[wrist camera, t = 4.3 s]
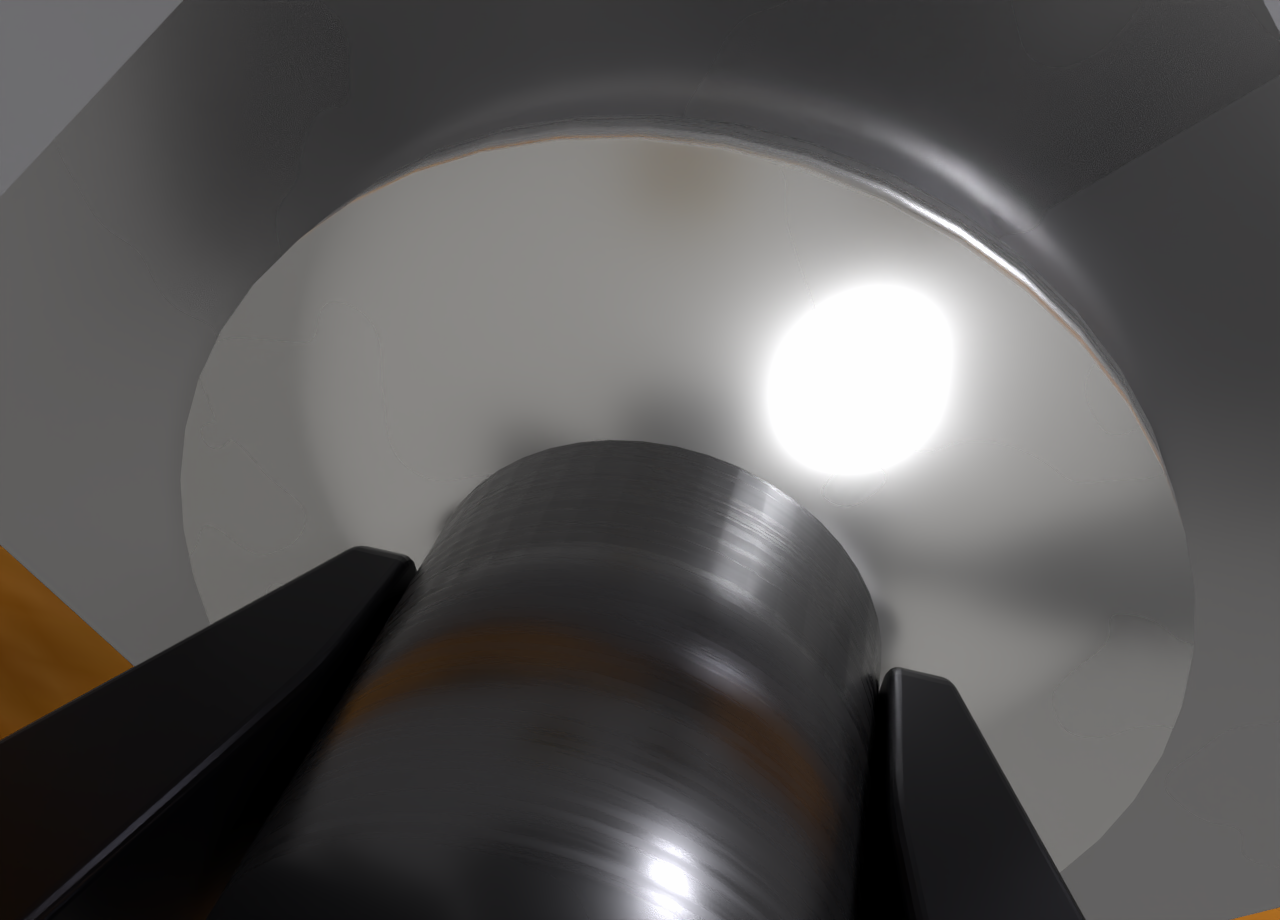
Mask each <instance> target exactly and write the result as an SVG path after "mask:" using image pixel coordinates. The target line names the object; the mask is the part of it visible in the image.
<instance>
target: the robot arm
mask: <svg viewBox="0 0 1280 920" xmlns="http://www.w3.org/2000/svg"><path fill="white" fill-rule="evenodd" d="M416 572H417V570H416V566H415V563H414V561H413V560H412V559H411V558H410V557H409V556H407V555H404V554H400V553H395V552H391V551H387V550H382V549H378V548H373V547H369V546H355V547H352V548H350V549H348V550H346V551H344V552H342V553H340V554H338V555H337V556H335V557H333V558H331V559H329V560H327V561H326V562H324V563H322V564H320V565H318V566H316V567H315V568H313V569H311V570H309V571H307V572H306V573H304V574H302V575H300V576H298V577H296V578H295V579H293V580H291V581H289V582H287V583H286V584H284V585H282V586H280V587H278V588H276V589H275V590H273V591H271V592H269V593H267V594H265V595H264V596H262V597H260V598H258V599H256V600H255V601H253V602H251V603H249V604H247V605H245V606H244V607H242V608H240V609H238V610H236V611H235V612H233V613H231V614H229V615H227V616H225V617H224V618H222V619H220V620H218V621H216V622H214V623H213V624H211V625H209V626H207V627H205V628H204V629H202V630H200V631H198V632H196V633H194V634H193V635H191V636H189V637H187V638H185V639H184V640H182V641H180V642H178V643H176V644H174V645H173V646H171V647H169V648H167V649H165V650H163V651H162V652H160V653H158V654H156V655H154V656H153V657H151V658H149V659H147V660H145V661H143V662H142V663H140V664H138V665H136V666H134V667H133V668H131V669H129V670H127V671H125V672H123V673H122V674H120V675H118V676H116V677H114V678H112V679H111V680H109V681H107V682H105V683H103V684H102V685H100V686H98V687H96V688H94V689H92V690H91V691H89V692H87V693H85V694H83V695H82V696H80V697H78V698H76V699H74V700H72V701H71V702H69V703H67V704H65V705H63V706H61V707H60V708H58V709H56V710H54V711H52V712H51V713H49V714H47V715H45V716H43V717H41V718H40V719H38V720H36V721H34V722H32V723H31V724H29V725H27V726H25V727H23V728H21V729H20V730H18V731H16V732H14V733H12V734H10V735H9V736H7V737H5V738H3V739H1V740H0V920H206V919H207V917H208V915H209V913H210V912H211V910H212V908H213V907H214V905H215V903H216V902H217V900H218V898H219V897H220V895H221V893H222V892H223V890H224V889H225V887H226V885H227V884H228V882H229V880H230V879H231V877H232V875H233V874H234V872H235V870H236V869H237V867H238V865H239V864H240V862H241V861H242V859H243V857H244V856H245V854H246V852H247V851H248V849H249V847H250V846H251V844H252V842H253V841H254V839H255V837H256V836H257V834H258V833H259V831H260V829H261V828H262V826H263V824H264V823H265V821H266V819H267V818H268V816H269V814H270V813H271V811H272V809H273V808H274V806H275V805H276V803H277V801H278V800H279V798H280V796H281V795H282V793H283V791H284V790H285V788H286V786H287V785H288V783H289V781H290V780H291V778H292V777H293V775H294V773H295V772H296V770H297V768H298V767H299V765H300V763H301V762H302V760H303V758H304V757H305V755H306V753H307V752H308V750H309V749H310V747H311V745H312V744H313V742H314V740H315V739H316V737H317V735H318V734H319V732H320V730H321V729H322V727H323V725H324V724H325V722H326V721H327V719H328V717H329V716H330V714H331V712H332V711H333V709H334V707H335V706H336V704H337V702H338V701H339V699H340V697H341V696H342V694H343V693H344V691H345V689H346V688H347V686H348V684H349V683H350V681H351V679H352V678H353V676H354V674H355V673H356V671H357V669H358V668H359V666H360V665H361V663H362V661H363V660H364V658H365V656H366V655H367V653H368V651H369V650H370V648H371V646H372V645H373V643H374V641H375V640H376V638H377V637H378V635H379V633H380V632H381V630H382V628H383V627H384V625H385V623H386V622H387V620H388V618H389V617H390V615H391V613H392V612H393V610H394V609H395V607H396V605H397V604H398V602H399V600H400V599H401V597H402V595H403V594H404V592H405V590H406V589H407V587H408V585H409V584H410V582H411V581H412V579H413V577H414V576H415V574H416ZM862 920H1086V919H1085V917H1084V915H1083V914H1082V912H1081V910H1080V908H1079V906H1078V905H1077V903H1076V901H1075V899H1074V898H1073V896H1072V894H1071V892H1070V890H1069V889H1068V887H1067V885H1066V883H1065V881H1064V880H1063V878H1062V876H1061V874H1060V872H1059V871H1058V869H1057V867H1056V865H1055V864H1054V862H1053V860H1052V858H1051V856H1050V855H1049V853H1048V851H1047V849H1046V847H1045V846H1044V844H1043V842H1042V840H1041V838H1040V837H1039V835H1038V833H1037V831H1036V830H1035V828H1034V826H1033V824H1032V822H1031V821H1030V819H1029V817H1028V815H1027V813H1026V812H1025V810H1024V808H1023V806H1022V805H1021V803H1020V801H1019V799H1018V797H1017V796H1016V794H1015V792H1014V790H1013V788H1012V787H1011V785H1010V783H1009V781H1008V779H1007V778H1006V776H1005V774H1004V772H1003V771H1002V769H1001V767H1000V765H999V763H998V762H997V760H996V758H995V756H994V754H993V753H992V751H991V749H990V747H989V745H988V744H987V742H986V740H985V738H984V737H983V735H982V733H981V731H980V729H979V728H978V726H977V724H976V722H975V720H974V719H973V717H972V715H971V713H970V712H969V710H968V708H967V706H966V704H965V703H964V701H963V699H962V697H961V695H960V694H959V692H958V690H957V688H956V687H955V685H954V684H953V683H952V682H951V681H950V680H948V679H946V678H944V677H941V676H937V675H932V674H928V673H924V672H919V671H915V670H910V669H906V668H902V667H894V668H891V669H890V670H889V671H888V672H887V673H886V674H885V676H884V678H883V681H882V684H881V687H880V691H879V697H878V711H877V724H876V738H875V752H874V765H873V779H872V793H871V806H870V820H869V833H868V848H867V862H866V875H865V889H864V902H863V916H862Z"/></svg>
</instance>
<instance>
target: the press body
mask: <svg viewBox="0 0 1280 920" xmlns="http://www.w3.org/2000/svg"><path fill="white" fill-rule="evenodd" d="M637 114H659V115H668V116H677V117H686V118H695V119H704V120H713V121H723V122H732V123H737V124H741V125H745V126H749V127H753V128H757V129H762V130H766V131H770V132H774V133H778V134H782V135H786V136H790V137H794V138H798V139H802V140H806V141H811V142H814V143H816V144H819V145H822V146H824V147H827V148H829V149H832V150H835V151H837V152H840V153H842V154H845V155H847V156H850V157H853V158H855V159H858V160H860V161H863V162H866V163H868V164H871V165H873V166H876V167H878V168H881V169H884V170H886V171H889V172H890V173H892V174H894V175H896V176H898V177H900V178H901V179H903V180H905V181H907V182H909V183H911V184H912V185H914V186H916V187H918V188H920V189H922V190H923V191H925V192H927V193H929V194H931V195H933V196H934V197H936V198H938V199H940V200H942V201H944V202H945V203H947V204H949V205H951V206H953V207H955V208H956V209H958V210H960V211H961V212H962V213H964V214H965V215H967V216H968V217H969V218H971V219H972V220H973V221H975V222H976V223H977V224H979V225H980V226H981V227H983V228H984V229H986V230H987V231H988V232H990V233H991V234H992V235H994V236H995V237H996V238H998V239H999V240H1000V241H1002V242H1003V243H1005V244H1006V245H1007V246H1009V247H1010V248H1011V249H1013V250H1014V251H1015V252H1017V253H1018V254H1020V255H1021V256H1022V257H1023V258H1024V259H1025V260H1026V261H1027V262H1028V263H1029V264H1030V265H1031V266H1032V267H1033V268H1034V269H1035V270H1036V271H1038V272H1039V273H1040V274H1041V275H1042V276H1043V277H1044V278H1045V279H1046V280H1047V281H1048V282H1049V283H1050V284H1051V285H1052V286H1053V287H1054V288H1055V289H1056V290H1057V291H1058V292H1059V293H1060V294H1061V295H1062V296H1063V297H1064V298H1065V299H1066V300H1067V301H1068V302H1069V303H1070V304H1071V305H1072V306H1073V307H1074V308H1075V309H1076V310H1077V311H1078V312H1079V314H1080V315H1081V316H1082V318H1083V319H1084V320H1085V322H1086V323H1087V324H1088V326H1089V327H1090V328H1091V330H1092V331H1093V332H1094V333H1095V335H1096V336H1097V337H1098V339H1099V340H1100V341H1101V343H1102V344H1103V345H1104V347H1105V348H1106V349H1107V351H1108V352H1109V353H1110V354H1111V356H1112V357H1113V358H1114V360H1115V361H1116V362H1117V364H1118V365H1119V367H1120V368H1121V370H1122V372H1123V374H1124V376H1125V378H1126V379H1127V381H1128V383H1129V385H1130V387H1131V389H1132V391H1133V392H1134V394H1135V396H1136V398H1137V400H1138V402H1139V403H1140V405H1141V407H1142V409H1143V411H1144V413H1145V415H1146V416H1147V418H1148V420H1149V422H1150V424H1151V426H1152V429H1153V432H1154V435H1155V438H1156V440H1157V443H1158V446H1159V449H1160V452H1161V455H1162V458H1163V461H1164V464H1165V466H1166V469H1167V472H1168V475H1169V478H1170V481H1171V484H1172V487H1173V491H1174V494H1175V498H1176V502H1177V505H1178V509H1179V513H1180V516H1181V520H1182V523H1183V527H1184V531H1185V536H1186V542H1187V548H1188V555H1189V561H1190V567H1191V573H1192V579H1193V586H1194V592H1195V602H1194V649H1193V656H1192V661H1191V665H1190V670H1189V675H1188V680H1187V685H1186V690H1185V694H1184V699H1183V704H1182V707H1181V710H1180V712H1179V715H1178V717H1177V720H1176V722H1175V725H1174V727H1173V729H1172V732H1171V734H1170V737H1169V739H1168V742H1167V744H1166V747H1165V749H1164V752H1163V754H1162V756H1161V758H1160V759H1159V761H1158V763H1157V764H1156V766H1155V767H1154V769H1153V771H1152V772H1151V774H1150V775H1149V777H1148V779H1147V780H1146V782H1145V783H1144V785H1143V787H1142V788H1141V790H1140V791H1139V793H1138V795H1137V796H1136V798H1135V799H1134V801H1133V802H1132V803H1131V804H1130V805H1129V806H1128V808H1127V809H1126V810H1125V811H1124V812H1123V813H1122V814H1121V816H1120V817H1119V818H1118V819H1117V820H1116V821H1115V822H1114V823H1113V825H1112V826H1111V827H1110V828H1109V829H1108V830H1107V831H1106V833H1105V834H1104V835H1103V836H1102V837H1101V838H1100V839H1099V840H1098V841H1097V842H1096V843H1095V844H1093V845H1092V846H1091V847H1090V848H1089V849H1087V850H1086V851H1085V852H1084V853H1083V854H1082V855H1080V856H1079V857H1078V858H1077V859H1076V860H1074V861H1073V862H1072V863H1071V864H1070V865H1068V866H1067V867H1066V868H1065V869H1064V870H1062V871H1061V872H1060V874H1061V876H1062V878H1063V880H1064V881H1065V883H1066V885H1067V887H1068V889H1069V890H1070V892H1071V894H1072V896H1073V898H1074V899H1075V901H1076V903H1077V905H1078V906H1079V908H1080V910H1081V912H1082V914H1083V915H1084V917H1085V919H1086V920H1230V919H1234V918H1238V917H1242V916H1246V915H1250V914H1254V913H1258V912H1262V911H1266V910H1270V909H1274V908H1278V907H1280V31H1279V30H1278V28H1277V26H1276V24H1275V22H1274V20H1273V18H1272V16H1271V15H1270V13H1269V11H1268V9H1267V7H1266V5H1265V3H1264V1H1263V0H183V1H182V2H181V3H180V4H179V5H178V6H177V7H176V8H175V10H174V11H173V12H172V13H171V14H170V15H169V16H168V17H167V18H166V19H165V20H164V21H163V22H162V24H161V25H160V26H159V27H158V28H157V29H156V30H155V31H154V32H153V33H152V34H151V35H150V36H149V38H148V39H147V40H146V41H145V42H144V43H143V44H142V45H141V46H140V47H139V48H138V49H137V50H136V51H135V53H134V54H133V55H132V56H131V57H130V58H129V59H128V60H127V61H126V62H125V63H124V64H123V65H122V67H121V68H120V69H119V70H118V71H117V72H116V73H115V74H114V75H113V76H112V77H111V78H110V79H109V81H108V82H107V83H106V84H105V85H104V86H103V87H102V88H101V89H100V90H99V91H98V92H97V93H96V94H95V96H94V97H93V98H92V99H91V100H90V101H89V102H88V103H87V104H86V105H85V106H84V107H83V108H82V110H81V111H80V112H79V113H78V114H77V115H76V116H75V117H74V118H73V119H72V120H71V121H70V122H69V123H68V125H67V126H66V127H65V128H64V129H63V130H62V131H61V132H60V133H59V134H58V135H57V136H56V137H55V139H54V140H53V141H52V142H51V143H50V144H49V145H48V146H47V147H46V148H45V149H44V150H43V151H42V153H41V154H40V155H39V156H38V157H37V158H36V159H35V160H34V161H33V162H32V163H31V164H30V165H29V166H28V168H27V169H26V170H25V171H24V172H23V173H22V174H21V175H20V176H19V177H18V178H17V179H16V180H15V182H14V183H13V184H12V185H11V186H10V187H9V188H8V189H7V190H6V191H5V192H4V193H3V194H2V196H1V197H0V545H1V546H2V547H3V548H4V549H6V550H7V551H8V552H9V553H10V554H11V555H12V556H13V557H14V558H15V559H17V560H18V561H19V562H20V563H21V564H22V565H23V566H24V567H25V568H26V569H28V570H29V571H30V572H31V573H32V574H33V575H34V576H35V577H36V578H37V579H39V580H40V581H41V582H42V583H43V584H44V585H45V586H46V587H47V588H49V589H50V590H51V591H52V592H53V593H54V594H55V595H56V596H57V597H58V598H60V599H61V600H62V601H63V602H64V603H65V604H66V605H67V606H68V607H69V608H71V609H72V610H73V611H74V612H75V613H76V614H77V615H78V616H79V617H80V618H82V619H83V620H84V621H85V622H86V623H87V624H88V625H89V626H90V627H92V628H93V629H94V630H95V631H96V632H97V633H98V634H99V635H100V636H101V637H103V638H104V639H105V640H106V641H107V642H108V643H109V644H110V645H111V646H112V647H114V648H115V649H116V650H117V651H118V652H119V653H120V654H121V655H122V656H123V657H125V658H126V659H127V660H128V661H129V662H130V663H131V664H132V665H133V666H136V665H138V664H140V663H142V662H143V661H145V660H147V659H149V658H151V657H153V656H154V655H156V654H158V653H160V652H162V651H163V650H165V649H167V648H169V647H171V646H173V645H174V644H176V643H178V642H180V641H182V640H184V639H185V638H187V637H189V636H191V635H193V634H194V633H196V632H198V631H200V630H202V629H204V628H205V627H207V626H209V625H210V622H209V619H208V617H207V614H206V611H205V608H204V605H203V602H202V600H201V597H200V594H199V591H198V588H197V586H196V583H195V580H194V577H193V572H192V567H191V562H190V558H189V553H188V548H187V543H186V539H185V534H184V529H183V514H182V498H181V481H180V478H181V467H182V457H183V446H184V436H185V428H186V424H187V420H188V416H189V413H190V409H191V405H192V401H193V398H194V394H195V390H196V387H197V383H198V379H199V377H200V375H201V373H202V370H203V368H204V366H205V364H206V362H207V360H208V358H209V355H210V353H211V351H212V349H213V347H214V345H215V343H216V340H217V338H218V336H219V334H220V332H221V330H222V329H223V327H224V326H225V324H226V323H227V321H228V320H229V319H230V317H231V316H232V314H233V313H234V311H235V310H236V309H237V307H238V306H239V304H240V303H241V301H242V300H243V299H244V297H245V296H246V294H247V293H248V292H249V290H250V289H251V287H252V286H253V284H254V283H255V282H256V281H257V280H258V279H259V278H260V277H261V276H262V275H263V274H264V273H265V272H267V271H268V270H269V269H270V268H271V267H272V266H273V265H274V264H275V263H276V262H277V261H278V260H279V259H280V258H281V257H282V256H283V255H284V254H285V253H286V252H287V251H288V250H289V249H290V248H291V247H292V246H293V245H294V244H295V243H296V242H297V241H298V240H299V239H300V238H302V237H303V236H304V235H305V234H306V233H308V232H309V231H310V230H311V229H312V228H313V227H315V226H316V225H317V224H318V223H319V222H321V221H322V220H323V219H324V218H325V217H327V216H328V215H329V214H330V213H331V212H333V211H334V210H336V209H337V208H338V207H340V206H341V205H343V204H344V203H345V202H347V201H348V200H350V199H351V198H353V197H354V196H355V195H357V194H358V193H360V192H361V191H362V190H364V189H365V188H367V187H368V186H369V185H371V184H372V183H374V182H375V181H377V180H378V179H379V178H381V177H383V176H385V175H387V174H389V173H391V172H393V171H395V170H397V169H399V168H401V167H403V166H405V165H407V164H409V163H411V162H413V161H415V160H417V159H419V158H421V157H423V156H425V155H428V154H430V153H432V152H434V151H436V150H438V149H440V148H443V147H446V146H449V145H452V144H456V143H459V142H462V141H465V140H468V139H471V138H475V137H478V136H481V135H484V134H487V133H491V132H494V131H497V130H500V129H503V128H507V127H513V126H519V125H525V124H531V123H538V122H544V121H550V120H556V119H562V118H568V117H574V116H594V115H637Z"/></svg>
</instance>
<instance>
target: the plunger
mask: <svg viewBox="0 0 1280 920" xmlns="http://www.w3.org/2000/svg"><path fill="white" fill-rule="evenodd" d="M180 481H181V498H182V514H183V529H184V534H185V539H186V543H187V548H188V553H189V558H190V562H191V567H192V572H193V577H194V580H195V583H196V586H197V588H198V591H199V594H200V597H201V600H202V602H203V605H204V608H205V611H206V614H207V617H208V619H209V622H210V625H211V624H213V623H214V622H216V621H218V620H220V619H222V618H224V617H225V616H227V615H229V614H231V613H233V612H235V611H236V610H238V609H240V608H242V607H244V606H245V605H247V604H249V603H251V602H253V601H255V600H256V599H258V598H260V597H262V596H264V595H265V594H267V593H269V592H271V591H273V590H275V589H276V588H278V587H280V586H282V585H284V584H286V583H287V582H289V581H291V580H293V579H295V578H296V577H298V576H300V575H302V574H304V573H306V572H307V571H309V570H311V569H313V568H315V567H316V566H318V565H320V564H322V563H324V562H326V561H327V560H329V559H331V558H333V557H335V556H337V555H338V554H340V553H342V552H344V551H346V550H348V549H350V548H352V547H355V546H369V547H373V548H378V549H382V550H387V551H391V552H395V553H400V554H404V555H407V556H409V557H410V558H411V559H412V560H413V561H414V563H415V566H416V570H417V572H416V574H415V576H414V577H413V579H412V581H411V582H410V584H409V585H408V587H407V589H406V590H405V592H404V594H403V595H402V597H401V599H400V600H399V602H398V604H397V605H396V607H395V609H394V610H393V612H392V613H391V615H390V617H389V618H388V620H387V622H386V623H385V625H384V627H383V628H382V630H381V632H380V633H379V635H378V637H377V638H376V640H375V641H374V643H373V645H372V646H371V648H370V650H369V651H368V653H367V655H366V656H365V658H364V660H363V661H362V663H361V665H360V666H359V668H358V669H357V671H356V673H355V674H354V676H353V678H352V679H351V681H350V683H349V684H348V686H347V688H346V689H345V691H344V693H343V694H342V696H341V697H340V699H339V701H338V702H337V704H336V706H335V707H334V709H333V711H332V712H331V714H330V716H329V717H328V719H327V721H326V722H325V724H324V725H323V727H322V729H321V730H320V732H319V734H318V735H317V737H316V739H315V740H314V742H313V744H312V745H311V747H310V749H309V750H308V752H307V753H306V755H305V757H304V758H303V760H302V762H301V763H300V765H299V767H298V768H297V770H296V772H295V773H294V775H293V777H292V778H291V780H290V781H289V783H288V785H287V786H286V788H285V790H284V791H283V793H282V795H281V796H280V798H279V800H278V801H277V803H276V805H275V806H274V808H273V809H272V811H271V813H270V814H269V816H268V818H267V819H266V821H265V823H264V824H263V826H262V828H261V829H260V831H259V833H258V834H257V836H256V837H255V839H254V841H253V842H252V844H251V846H250V847H249V849H248V851H247V852H246V854H245V856H244V857H243V859H242V861H241V862H240V864H239V865H238V867H237V869H236V870H235V872H234V874H233V875H232V877H231V879H230V880H229V882H228V884H227V885H226V887H225V889H224V890H223V892H222V893H221V895H220V897H219V898H218V900H217V902H216V903H215V905H214V907H213V908H212V910H211V912H210V913H209V915H208V917H207V919H206V920H862V916H863V902H864V889H865V875H866V862H867V848H868V833H869V820H870V806H871V793H872V779H873V765H874V752H875V738H876V724H877V711H878V697H879V691H880V687H881V684H882V681H883V678H884V676H885V674H886V673H887V672H888V671H889V670H890V669H891V668H894V667H902V668H906V669H910V670H915V671H919V672H924V673H928V674H932V675H937V676H941V677H944V678H946V679H948V680H950V681H951V682H952V683H953V684H954V685H955V687H956V688H957V690H958V692H959V694H960V695H961V697H962V699H963V701H964V703H965V704H966V706H967V708H968V710H969V712H970V713H971V715H972V717H973V719H974V720H975V722H976V724H977V726H978V728H979V729H980V731H981V733H982V735H983V737H984V738H985V740H986V742H987V744H988V745H989V747H990V749H991V751H992V753H993V754H994V756H995V758H996V760H997V762H998V763H999V765H1000V767H1001V769H1002V771H1003V772H1004V774H1005V776H1006V778H1007V779H1008V781H1009V783H1010V785H1011V787H1012V788H1013V790H1014V792H1015V794H1016V796H1017V797H1018V799H1019V801H1020V803H1021V805H1022V806H1023V808H1024V810H1025V812H1026V813H1027V815H1028V817H1029V819H1030V821H1031V822H1032V824H1033V826H1034V828H1035V830H1036V831H1037V833H1038V835H1039V837H1040V838H1041V840H1042V842H1043V844H1044V846H1045V847H1046V849H1047V851H1048V853H1049V855H1050V856H1051V858H1052V860H1053V862H1054V864H1055V865H1056V867H1057V869H1058V871H1059V872H1061V871H1062V870H1064V869H1065V868H1066V867H1067V866H1068V865H1070V864H1071V863H1072V862H1073V861H1074V860H1076V859H1077V858H1078V857H1079V856H1080V855H1082V854H1083V853H1084V852H1085V851H1086V850H1087V849H1089V848H1090V847H1091V846H1092V845H1093V844H1095V843H1096V842H1097V841H1098V840H1099V839H1100V838H1101V837H1102V836H1103V835H1104V834H1105V833H1106V831H1107V830H1108V829H1109V828H1110V827H1111V826H1112V825H1113V823H1114V822H1115V821H1116V820H1117V819H1118V818H1119V817H1120V816H1121V814H1122V813H1123V812H1124V811H1125V810H1126V809H1127V808H1128V806H1129V805H1130V804H1131V803H1132V802H1133V801H1134V799H1135V798H1136V796H1137V795H1138V793H1139V791H1140V790H1141V788H1142V787H1143V785H1144V783H1145V782H1146V780H1147V779H1148V777H1149V775H1150V774H1151V772H1152V771H1153V769H1154V767H1155V766H1156V764H1157V763H1158V761H1159V759H1160V758H1161V756H1162V754H1163V752H1164V749H1165V747H1166V744H1167V742H1168V739H1169V737H1170V734H1171V732H1172V729H1173V727H1174V725H1175V722H1176V720H1177V717H1178V715H1179V712H1180V710H1181V707H1182V704H1183V699H1184V694H1185V690H1186V685H1187V680H1188V675H1189V670H1190V665H1191V661H1192V656H1193V649H1194V602H1195V592H1194V586H1193V579H1192V573H1191V567H1190V561H1189V555H1188V548H1187V542H1186V536H1185V531H1184V527H1183V523H1182V520H1181V516H1180V513H1179V509H1178V505H1177V502H1176V498H1175V494H1174V491H1173V487H1172V484H1171V481H1170V478H1169V475H1168V472H1167V469H1166V466H1165V464H1164V461H1163V458H1162V455H1161V452H1160V449H1159V446H1158V443H1157V440H1156V438H1155V435H1154V432H1153V429H1152V426H1151V424H1150V422H1149V420H1148V418H1147V416H1146V415H1145V413H1144V411H1143V409H1142V407H1141V405H1140V403H1139V402H1138V400H1137V398H1136V396H1135V394H1134V392H1133V391H1132V389H1131V387H1130V385H1129V383H1128V381H1127V379H1126V378H1125V376H1124V374H1123V372H1122V370H1121V368H1120V367H1119V365H1118V364H1117V362H1116V361H1115V360H1114V358H1113V357H1112V356H1111V354H1110V353H1109V352H1108V351H1107V349H1106V348H1105V347H1104V345H1103V344H1102V343H1101V341H1100V340H1099V339H1098V337H1097V336H1096V335H1095V333H1094V332H1093V331H1092V330H1091V328H1090V327H1089V326H1088V324H1087V323H1086V322H1085V320H1084V319H1083V318H1082V316H1081V315H1080V314H1079V312H1078V311H1077V310H1076V309H1075V308H1074V307H1073V306H1072V305H1071V304H1070V303H1069V302H1068V301H1067V300H1066V299H1065V298H1064V297H1063V296H1062V295H1061V294H1060V293H1059V292H1058V291H1057V290H1056V289H1055V288H1054V287H1053V286H1052V285H1051V284H1050V283H1049V282H1048V281H1047V280H1046V279H1045V278H1044V277H1043V276H1042V275H1041V274H1040V273H1039V272H1038V271H1036V270H1035V269H1034V268H1033V267H1032V266H1031V265H1030V264H1029V263H1028V262H1027V261H1026V260H1025V259H1024V258H1023V257H1022V256H1021V255H1020V254H1018V253H1017V252H1015V251H1014V250H1013V249H1011V248H1010V247H1009V246H1007V245H1006V244H1005V243H1003V242H1002V241H1000V240H999V239H998V238H996V237H995V236H994V235H992V234H991V233H990V232H988V231H987V230H986V229H984V228H983V227H981V226H980V225H979V224H977V223H976V222H975V221H973V220H972V219H971V218H969V217H968V216H967V215H965V214H964V213H962V212H961V211H960V210H958V209H956V208H955V207H953V206H951V205H949V204H947V203H945V202H944V201H942V200H940V199H938V198H936V197H934V196H933V195H931V194H929V193H927V192H925V191H923V190H922V189H920V188H918V187H916V186H914V185H912V184H911V183H909V182H907V181H905V180H903V179H901V178H900V177H898V176H896V175H894V174H892V173H890V172H889V171H886V170H884V169H881V168H878V167H876V166H873V165H871V164H868V163H866V162H863V161H860V160H858V159H855V158H853V157H850V156H847V155H845V154H842V153H840V152H837V151H835V150H832V149H829V148H827V147H824V146H822V145H819V144H816V143H814V142H811V141H806V140H802V139H798V138H794V137H790V136H786V135H782V134H778V133H774V132H770V131H766V130H762V129H757V128H753V127H749V126H745V125H741V124H737V123H732V122H723V121H713V120H704V119H695V118H686V117H677V116H668V115H659V114H637V115H594V116H574V117H568V118H562V119H556V120H550V121H544V122H538V123H531V124H525V125H519V126H513V127H507V128H503V129H500V130H497V131H494V132H491V133H487V134H484V135H481V136H478V137H475V138H471V139H468V140H465V141H462V142H459V143H456V144H452V145H449V146H446V147H443V148H440V149H438V150H436V151H434V152H432V153H430V154H428V155H425V156H423V157H421V158H419V159H417V160H415V161H413V162H411V163H409V164H407V165H405V166H403V167H401V168H399V169H397V170H395V171H393V172H391V173H389V174H387V175H385V176H383V177H381V178H379V179H378V180H377V181H375V182H374V183H372V184H371V185H369V186H368V187H367V188H365V189H364V190H362V191H361V192H360V193H358V194H357V195H355V196H354V197H353V198H351V199H350V200H348V201H347V202H345V203H344V204H343V205H341V206H340V207H338V208H337V209H336V210H334V211H333V212H331V213H330V214H329V215H328V216H327V217H325V218H324V219H323V220H322V221H321V222H319V223H318V224H317V225H316V226H315V227H313V228H312V229H311V230H310V231H309V232H308V233H306V234H305V235H304V236H303V237H302V238H300V239H299V240H298V241H297V242H296V243H295V244H294V245H293V246H292V247H291V248H290V249H289V250H288V251H287V252H286V253H285V254H284V255H283V256H282V257H281V258H280V259H279V260H278V261H277V262H276V263H275V264H274V265H273V266H272V267H271V268H270V269H269V270H268V271H267V272H265V273H264V274H263V275H262V276H261V277H260V278H259V279H258V280H257V281H256V282H255V283H254V284H253V286H252V287H251V289H250V290H249V292H248V293H247V294H246V296H245V297H244V299H243V300H242V301H241V303H240V304H239V306H238V307H237V309H236V310H235V311H234V313H233V314H232V316H231V317H230V319H229V320H228V321H227V323H226V324H225V326H224V327H223V329H222V330H221V332H220V334H219V336H218V338H217V340H216V343H215V345H214V347H213V349H212V351H211V353H210V355H209V358H208V360H207V362H206V364H205V366H204V368H203V370H202V373H201V375H200V377H199V379H198V383H197V387H196V390H195V394H194V398H193V401H192V405H191V409H190V413H189V416H188V420H187V424H186V428H185V436H184V446H183V457H182V467H181V478H180Z"/></svg>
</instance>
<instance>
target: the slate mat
mask: <svg viewBox="0 0 1280 920" xmlns="http://www.w3.org/2000/svg"><path fill="white" fill-rule="evenodd" d="M182 1H183V0H0V197H1V196H2V194H3V193H4V192H5V191H6V190H7V189H8V188H9V187H10V186H11V185H12V184H13V183H14V182H15V180H16V179H17V178H18V177H19V176H20V175H21V174H22V173H23V172H24V171H25V170H26V169H27V168H28V166H29V165H30V164H31V163H32V162H33V161H34V160H35V159H36V158H37V157H38V156H39V155H40V154H41V153H42V151H43V150H44V149H45V148H46V147H47V146H48V145H49V144H50V143H51V142H52V141H53V140H54V139H55V137H56V136H57V135H58V134H59V133H60V132H61V131H62V130H63V129H64V128H65V127H66V126H67V125H68V123H69V122H70V121H71V120H72V119H73V118H74V117H75V116H76V115H77V114H78V113H79V112H80V111H81V110H82V108H83V107H84V106H85V105H86V104H87V103H88V102H89V101H90V100H91V99H92V98H93V97H94V96H95V94H96V93H97V92H98V91H99V90H100V89H101V88H102V87H103V86H104V85H105V84H106V83H107V82H108V81H109V79H110V78H111V77H112V76H113V75H114V74H115V73H116V72H117V71H118V70H119V69H120V68H121V67H122V65H123V64H124V63H125V62H126V61H127V60H128V59H129V58H130V57H131V56H132V55H133V54H134V53H135V51H136V50H137V49H138V48H139V47H140V46H141V45H142V44H143V43H144V42H145V41H146V40H147V39H148V38H149V36H150V35H151V34H152V33H153V32H154V31H155V30H156V29H157V28H158V27H159V26H160V25H161V24H162V22H163V21H164V20H165V19H166V18H167V17H168V16H169V15H170V14H171V13H172V12H173V11H174V10H175V8H176V7H177V6H178V5H179V4H180V3H181V2H182ZM1263 1H1264V3H1265V5H1266V7H1267V9H1268V11H1269V13H1270V15H1271V16H1272V18H1273V20H1274V22H1275V24H1276V26H1277V28H1278V30H1279V31H1280V0H1263Z"/></svg>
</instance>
